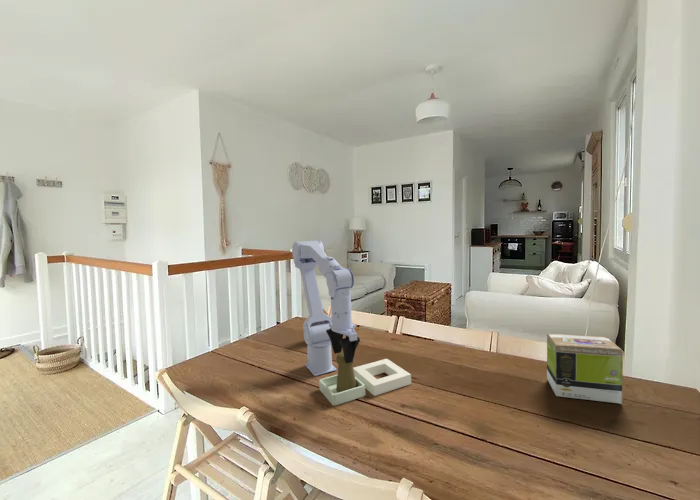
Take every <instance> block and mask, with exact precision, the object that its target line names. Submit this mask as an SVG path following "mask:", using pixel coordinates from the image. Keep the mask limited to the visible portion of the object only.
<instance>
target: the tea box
mask: <svg viewBox="0 0 700 500" xmlns="http://www.w3.org/2000/svg"><path fill="white" fill-rule="evenodd" d="M623 355H624V354H623V349H622V348H621V347H619V346H618V345H617V344H616V343H614V342H613V341H612V340H611V339H609V338H608V337H607V336H595V335H582V334H581V335H577V334H561V333H547V334H546V378H547V382H548V383H549V385H550V387H551V389H552V391H553V392H554V394H555V396H556V397H562V398H571V399H576V400H577V399H579V400H587V401H588V400H589V401H596V402H603V403H604V402H605V403H612V404H619V405H621V404H622V403H623V378H624V377H623V374H624V373H623V369H624V368H623V365H624V362H623V361H624V357H623Z"/></svg>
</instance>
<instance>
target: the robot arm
mask: <svg viewBox="0 0 700 500" xmlns="http://www.w3.org/2000/svg"><path fill="white" fill-rule="evenodd" d="M291 253H292V259H293V264H294V267H295V268H297V269H299V272H300V276H301V281H302V286H303V291H304V296H305V301H306V304H307V305H306V306H307V310H308V315H309V316H308V317H307V318H306V319H305V320H304V322H303V324H302V326H303V339H304V342H305V343H306V345H307V346H306V353H307V354H306V357H307V362H306V363H305V364H304V366H305V367H306V368H307V369H308V370H309V372H311V373H312V375H313V376H314V377H317V376H321V375H324V374H328V373H331V372H335V371H338V368H337V367H335V366H334V365H333V358H332V355H333V354H334V355H336V354H339V353H340V352H343V353H344V360H345V363H351V362H353V359H354V360H355V353H356V350H357V347H358V345H359V343H360V342H361V338H360V337H359V336H358V333H357V332H356V331H355V328H356V324H355V323H353V322H352V321H353V319H352V317H353V316H352V296H351V291H352V290H351V289H352V288H353V287H354V286H355V276H354V273H353V271H352V270H351V268H350V267H342V266H341V264H339V262H338V261H337V260H336V259H335V258H334V257H333V256H328V255H327V254H326V252H325V247H324V243H323V242H322V240H320V239H316V240H306V241H305V240H304V241H297V240H296V241H294V242H293V243H292V248H291ZM316 267H318V271H319V272H320V273H321V274H322V276H323V277H324V278H325V281H326V285H327V286H326V287H327V289H328V296H329V297H330V308H331V309H330V311H331V316H330V315H329V314H328V315H327V314H325V313H324V312H323V309H324V308H323V303H322V300H321V299H322V298H321V294H320V291H319V284H318V279H317V277H316V271H315V269H316ZM331 317H332V318H331ZM317 323H321V324H317ZM312 324H316V325H312ZM310 325H311V326H310ZM344 336H345V337H344ZM332 351H333V354H332Z"/></svg>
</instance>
